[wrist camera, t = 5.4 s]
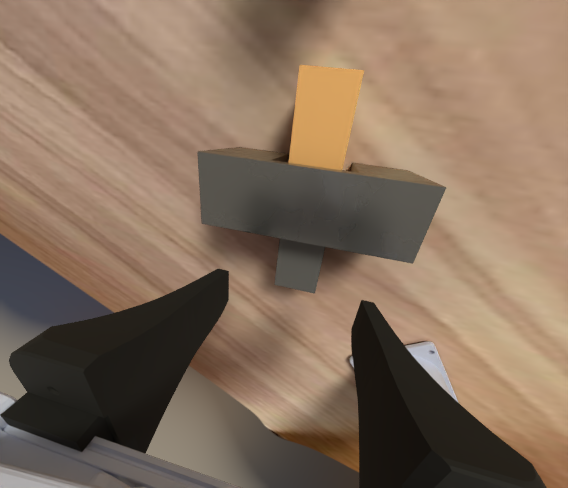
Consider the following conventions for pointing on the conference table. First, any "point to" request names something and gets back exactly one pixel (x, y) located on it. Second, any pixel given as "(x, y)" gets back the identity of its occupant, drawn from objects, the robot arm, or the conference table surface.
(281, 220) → the grey rectangular block
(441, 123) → the conference table surface
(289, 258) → the orange and grey bar
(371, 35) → the conference table surface
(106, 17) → the conference table surface
